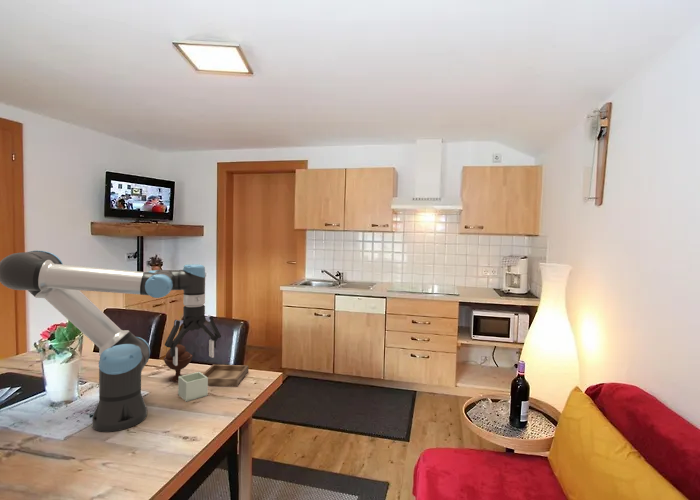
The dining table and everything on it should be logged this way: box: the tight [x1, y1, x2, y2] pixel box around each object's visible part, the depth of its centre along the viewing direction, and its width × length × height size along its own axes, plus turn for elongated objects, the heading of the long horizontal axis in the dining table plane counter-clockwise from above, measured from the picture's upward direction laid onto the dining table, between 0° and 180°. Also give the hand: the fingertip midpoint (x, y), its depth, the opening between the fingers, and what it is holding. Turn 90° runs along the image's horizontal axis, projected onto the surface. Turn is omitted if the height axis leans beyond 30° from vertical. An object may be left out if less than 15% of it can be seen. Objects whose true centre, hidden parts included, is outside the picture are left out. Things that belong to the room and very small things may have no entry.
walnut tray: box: [202, 364, 249, 388], centre depth 157 cm, size 16×16×3 cm
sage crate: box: [177, 371, 209, 402], centre depth 140 cm, size 8×8×7 cm
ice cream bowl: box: [163, 343, 193, 382], centre depth 155 cm, size 11×11×15 cm
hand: (193, 360), depth 139 cm, fingers open, 13 cm apart
